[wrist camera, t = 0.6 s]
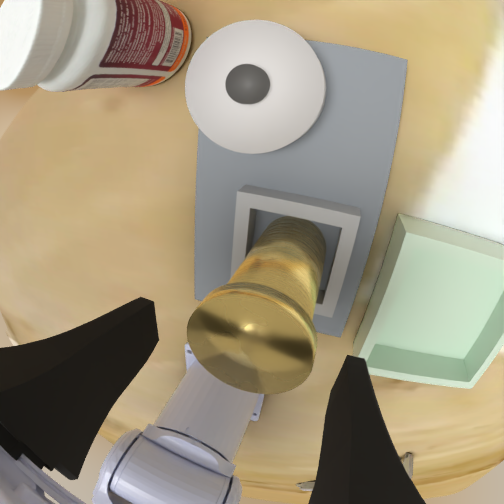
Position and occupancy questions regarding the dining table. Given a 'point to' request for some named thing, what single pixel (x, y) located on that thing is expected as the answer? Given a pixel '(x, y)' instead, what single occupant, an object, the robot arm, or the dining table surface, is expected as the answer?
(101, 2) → the pill bottle
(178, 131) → the dining table surface
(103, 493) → the robot arm
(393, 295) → the tray
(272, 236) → the lock pin
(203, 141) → the board
